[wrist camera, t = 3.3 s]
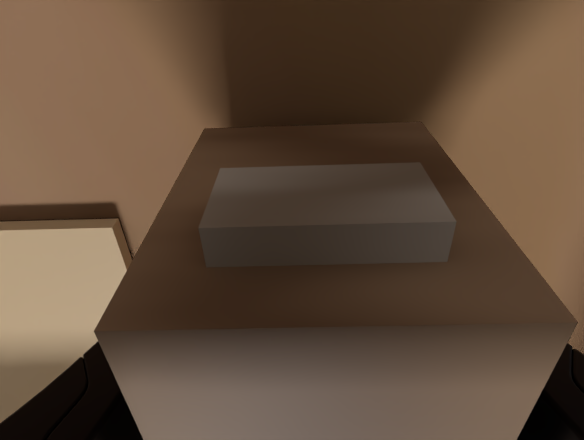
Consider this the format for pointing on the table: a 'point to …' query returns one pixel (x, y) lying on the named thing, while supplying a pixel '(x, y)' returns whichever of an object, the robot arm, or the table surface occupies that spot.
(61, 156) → the table surface
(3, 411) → the white slotted box
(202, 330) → the cabinet block
